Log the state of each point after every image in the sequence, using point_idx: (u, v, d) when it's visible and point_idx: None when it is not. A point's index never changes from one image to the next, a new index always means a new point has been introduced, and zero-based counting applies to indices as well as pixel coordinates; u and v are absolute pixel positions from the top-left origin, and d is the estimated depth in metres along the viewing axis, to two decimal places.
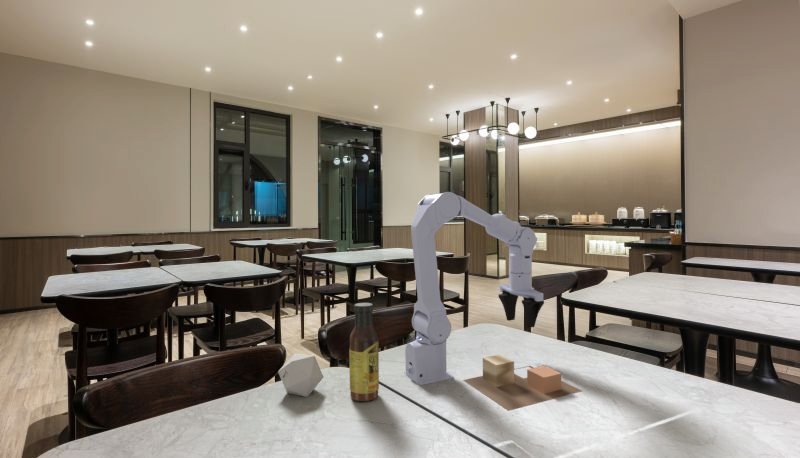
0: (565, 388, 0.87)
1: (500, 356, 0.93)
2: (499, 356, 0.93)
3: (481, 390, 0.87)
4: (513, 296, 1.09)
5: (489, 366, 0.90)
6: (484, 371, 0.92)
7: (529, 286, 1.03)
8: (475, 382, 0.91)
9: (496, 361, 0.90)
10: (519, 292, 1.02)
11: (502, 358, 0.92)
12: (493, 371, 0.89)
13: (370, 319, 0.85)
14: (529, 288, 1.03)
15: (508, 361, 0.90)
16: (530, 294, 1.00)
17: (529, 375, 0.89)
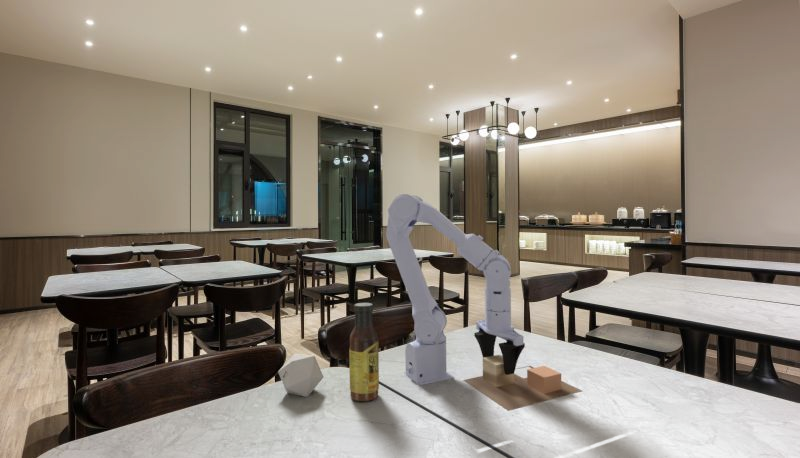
0: (565, 388, 0.87)
1: (500, 356, 0.93)
2: (499, 356, 0.93)
3: (481, 390, 0.87)
4: (491, 335, 0.95)
5: (489, 366, 0.90)
6: (484, 371, 0.92)
7: (508, 326, 0.89)
8: (475, 382, 0.91)
9: (496, 361, 0.90)
10: (496, 334, 0.88)
11: (502, 358, 0.92)
12: (493, 371, 0.89)
13: (370, 319, 0.85)
14: (508, 328, 0.89)
15: None
16: (508, 337, 0.86)
17: (529, 375, 0.89)
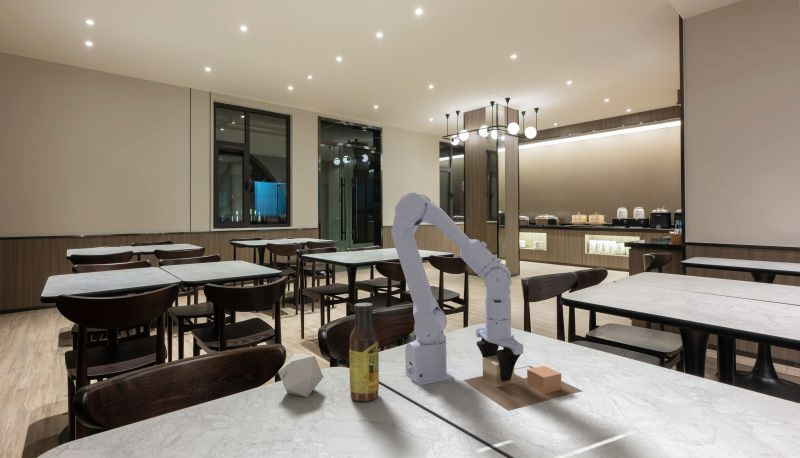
0: (565, 388, 0.87)
1: None
2: None
3: (481, 390, 0.87)
4: (493, 344, 0.94)
5: (489, 366, 0.90)
6: (484, 371, 0.92)
7: (508, 334, 0.89)
8: (475, 382, 0.91)
9: (496, 361, 0.90)
10: (496, 342, 0.88)
11: None
12: (493, 371, 0.89)
13: (370, 319, 0.85)
14: (508, 337, 0.89)
15: None
16: (508, 345, 0.86)
17: (529, 375, 0.89)
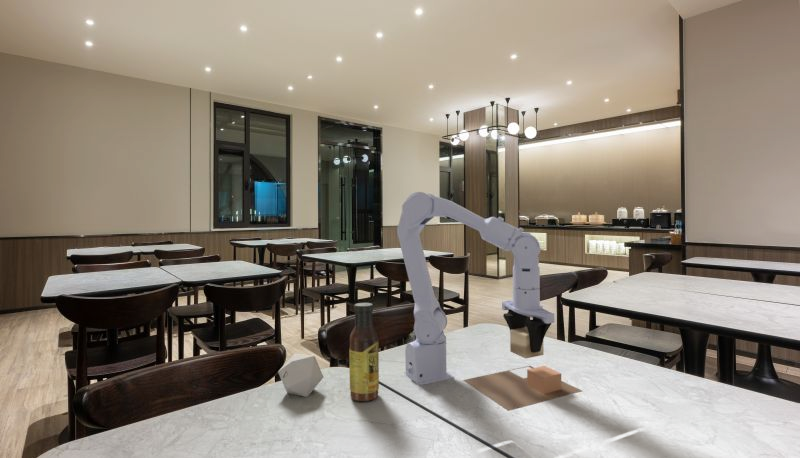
0: (565, 388, 0.87)
1: None
2: None
3: (481, 390, 0.87)
4: (521, 316, 0.92)
5: (518, 338, 0.88)
6: (512, 343, 0.90)
7: (537, 304, 0.87)
8: (475, 382, 0.91)
9: (524, 332, 0.88)
10: (525, 312, 0.86)
11: None
12: (522, 342, 0.87)
13: (370, 319, 0.85)
14: (537, 307, 0.87)
15: None
16: (538, 314, 0.84)
17: (529, 375, 0.89)
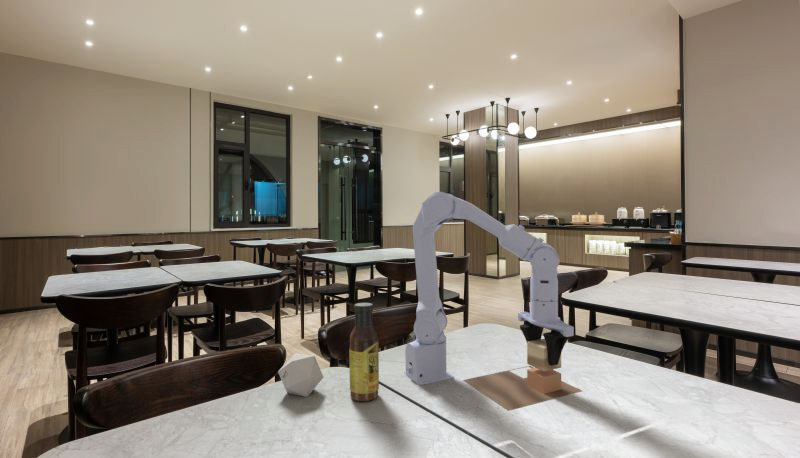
0: (565, 388, 0.87)
1: None
2: (544, 340, 0.90)
3: (481, 390, 0.87)
4: (538, 327, 0.91)
5: (535, 350, 0.87)
6: (529, 355, 0.89)
7: (555, 317, 0.85)
8: (475, 382, 0.91)
9: (542, 345, 0.87)
10: (543, 324, 0.84)
11: None
12: (540, 355, 0.86)
13: (370, 319, 0.85)
14: (555, 319, 0.85)
15: None
16: (557, 327, 0.82)
17: (529, 375, 0.89)
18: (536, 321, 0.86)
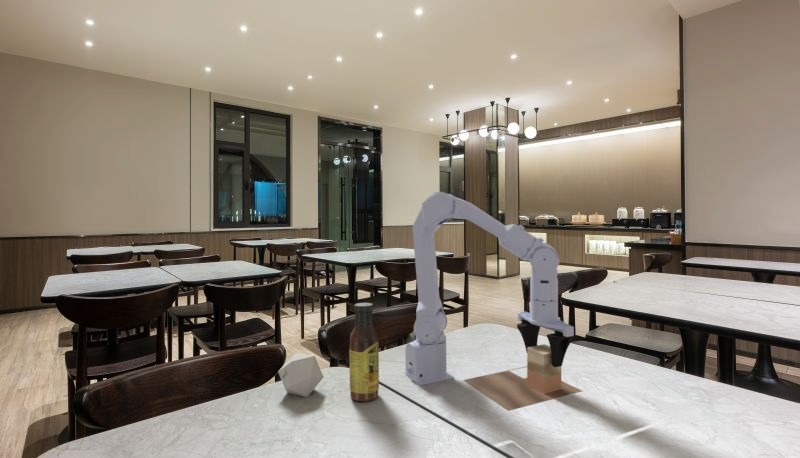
0: (565, 388, 0.87)
1: (545, 346, 0.90)
2: (544, 346, 0.90)
3: (481, 390, 0.87)
4: (534, 326, 0.91)
5: (535, 356, 0.87)
6: (529, 361, 0.89)
7: (555, 316, 0.85)
8: (475, 382, 0.91)
9: (542, 350, 0.87)
10: (543, 324, 0.84)
11: (548, 348, 0.88)
12: (540, 361, 0.86)
13: (370, 319, 0.85)
14: (555, 319, 0.85)
15: None
16: (557, 327, 0.82)
17: (529, 375, 0.89)
18: (536, 321, 0.86)
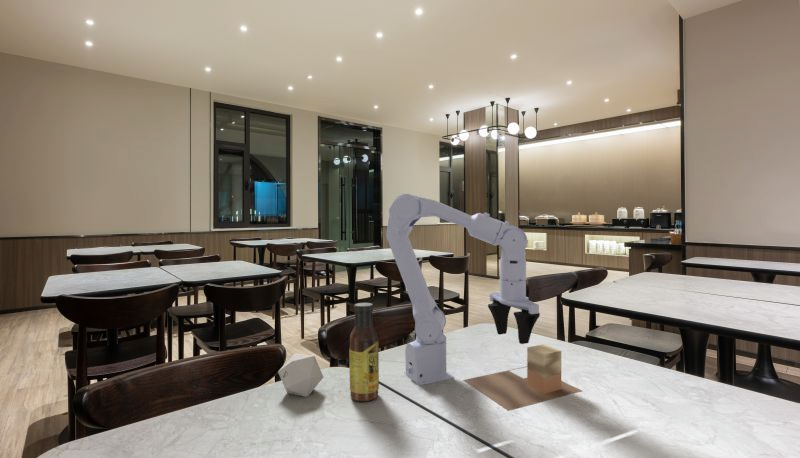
0: (565, 388, 0.87)
1: (545, 346, 0.90)
2: (544, 346, 0.90)
3: (481, 390, 0.87)
4: (505, 306, 0.95)
5: (535, 356, 0.87)
6: (529, 361, 0.89)
7: (523, 296, 0.89)
8: (475, 382, 0.91)
9: (542, 350, 0.87)
10: (511, 303, 0.88)
11: (548, 348, 0.88)
12: (540, 361, 0.86)
13: (370, 319, 0.85)
14: (523, 298, 0.89)
15: (555, 350, 0.87)
16: (523, 305, 0.86)
17: (529, 375, 0.89)
18: (504, 300, 0.89)
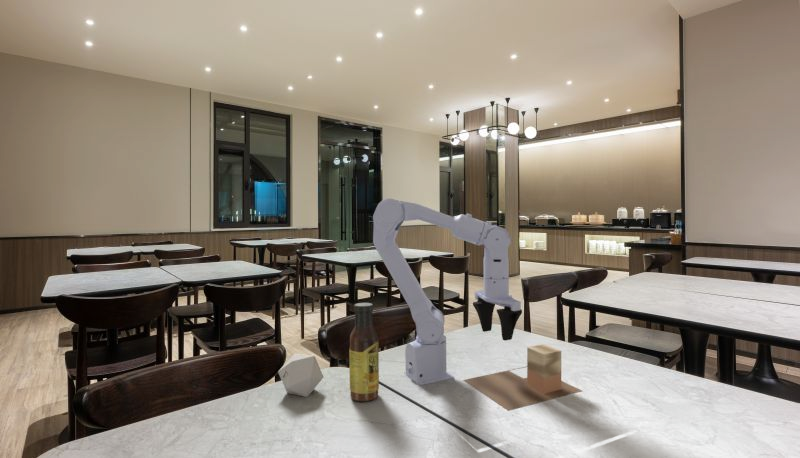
0: (565, 388, 0.87)
1: (545, 346, 0.90)
2: (544, 346, 0.90)
3: (481, 390, 0.87)
4: (489, 304, 0.97)
5: (535, 356, 0.87)
6: (529, 361, 0.89)
7: (505, 293, 0.91)
8: (475, 382, 0.91)
9: (542, 350, 0.87)
10: (494, 300, 0.90)
11: (548, 348, 0.88)
12: (540, 361, 0.86)
13: (370, 319, 0.85)
14: (505, 295, 0.91)
15: (555, 350, 0.87)
16: (506, 303, 0.88)
17: (529, 375, 0.89)
18: (488, 298, 0.91)
